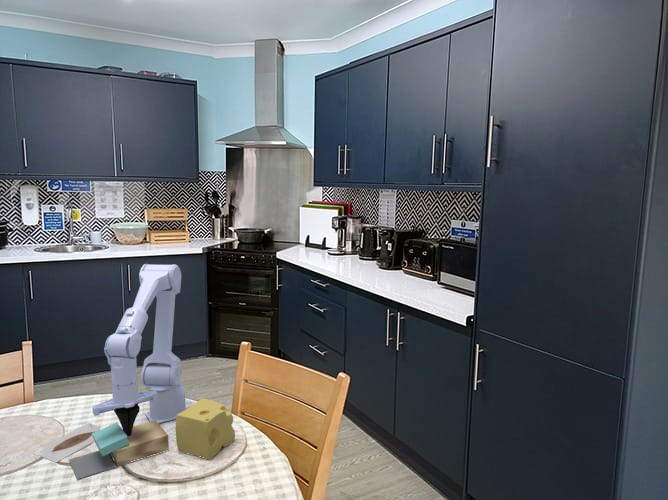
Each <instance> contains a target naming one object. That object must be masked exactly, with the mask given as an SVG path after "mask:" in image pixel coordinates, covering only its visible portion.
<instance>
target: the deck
mask: <svg viewBox="0 0 668 500" xmlns="http://www.w3.org/2000/svg"><path fill="white" fill-rule="evenodd" d="M122 430H123V429H122ZM127 438H128V441H129V444H128V445H125V446H123V447H121V448H119V449H117V450H115V451H113V452H111V453H109V455H110V457H111V459H113V460H112V461H114V464H115V466H116V467H119V468H120V467H122V466H125V465H127V464H126V463H128V464H130V463H129V462H131V461H134V460H137V459H140V460H142V459H141V458H143V459H145V458H144V457H146V458H148V457H147V456H150V455H153V454H156V455H158V454H157V453H159V454H161V453H160V452H162V453H164V452H163V451H165V452H167V451H166V450H168V449H169V450H170V448H169V447H170V446H169V445H170V444H169V434H168V433H167V431H165V429H163V427H162V426H161V425H160V424H158V423H157V422H156V420H154V421H150V420H149V421H148V422H145V423H140V424H137V425H133V429H132V435H131V436H128V437H127ZM169 450H168V451H169ZM153 456H154V455H153ZM150 457H151V456H150ZM137 461H138V460H137ZM134 462H135V461H134ZM131 463H132V462H131ZM124 464H125V465H124Z"/></svg>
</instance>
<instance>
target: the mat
mask: <svg viewBox="0 0 668 500" xmlns="http://www.w3.org/2000/svg"><path fill="white" fill-rule="evenodd" d="M113 461H114V460H112V457H111V455H110V453H109V454H107V455H105V456H102V454H101V452H100V451H99V450H97V451H94V452H93V451H92V452H89V453H86V454H82V455H79V456H76V457H73V458H69V461H68V462H69V463H70V466H71V468H72V470H73V473H74V475H75V478H76V480H77V481H79V480H83V479H86V478H89V477H92V476H95V475H98V474H101V473H104V472H107V471H110V470H114V469H115V468H116V464H115V462H113Z"/></svg>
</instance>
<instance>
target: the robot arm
mask: <svg viewBox="0 0 668 500" xmlns="http://www.w3.org/2000/svg"><path fill="white" fill-rule="evenodd" d="M138 276H139V277H138V279H139V285H140V286H139V289H138V291H137V294H136V297H135V300H134V302H133V305H132V307H129V308H127V309H126V310H125V312H124V314H123V316H122V318H121V320H120V322H119V324H118V326H117V329H116V331H114V332H115V333H112V334H111V335H108V337H107V338H106V340H105V345H104V348H103V349H104V350H103V351H104V355H105V356H106V358H107V363H108V365H109V366H110V372H111V373H110V374H111V391H112V392H111V393H112V398H111V399H108V400H106V401H103V402H101V403H97V404H93V405H92V414H93V416H94V417H98V416H100V415H101V414H104V413H108V412H111V411H114V414H115V415H116V417H117V419H118V421H119V424H120V425H121V426H120V427H121V428H122V429H123V431H124V433H125V434H126V435H127V437H128V436H131V435H132V429H133V426H135V425H134V424H135V421H136V418H137V417H138V415H139V413H140V409H141V408H140V406H139V404H143V403H146V402H149V403H148V404H149V412H146V413H145V416H146V418H147V419H148V420H149V422H150V421H154V420H156V422H157V423H158V424H159V425H160V424H163V423H167V422H169V421H174V420H176V418H177V414H179V413H181V412H183V411H184V410H186V409H187V407H186V393H185V392H186V391H185V388H184V385H183V383H182V382H181V380H182V373H183V372H182V367H181V366H182V364H181V363H182V362H181V358H179V357H178V356H177V355H176V354H174V353H173V352H172V349H173V335H174V334H173V333H174V320H175V304H176V303H175V302H176V295H178V294H180V293H181V288H182V286H181V285H182V272H181V268H180V267H179V265H178V264H174V263H173V264H149V263H144V264H143V265H142V267H141V268H140V269H139V274H138ZM155 297H156V304H155V305H156V307H155V320H154V321H155V323H154V332H153V333H154V336H153V349H152V353H151V354H150V355H148V356H147V357H146V358H145V359H144V361H143V365H142V366H143V367H142V369H141V373H140V380H141V383H142V385H143V386H145V389H146V390H148V391H140V392H139V387H138V386H139V385H138V367H137V365H138V364H137V356H138V355H139V353H140V351H141V347H142V346H141V345H142V344H141V343H142V339H143V337H142V333H143V332H144V331H143V330H144V329H145V326H146V324H147V322H148V321H149V315H148V313H147V311H148V310H149V307H150V306H151V304H152V303H153V301H154V299H155Z"/></svg>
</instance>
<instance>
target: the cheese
mask: <svg viewBox="0 0 668 500" xmlns="http://www.w3.org/2000/svg"><path fill="white" fill-rule="evenodd" d="M175 420H176V421H175V439H176V441H175V442H176V446H177V447H176V448H177V451H178V452H180V451H181V452H180V453H183V452H184V453H183V454H186V453H189V454H188V455H190V454H193V455H192V456H194V455H197V456H196V457H198V456H201V457H204V458H206V459H205V460H208V459H209V460H211V459H212V458H213V457H215V456H216V455H215V454H218V453H219V452H220V450H221V448H226V447H228V446H229V445H230V444H231V445H232V443H233V442H234V441H235V438H236V434H235V433H236V432H235V431H236V430H235V429H234V428H233V424H234V417H233V413H232V412H230V411H229V410H228V409H227V407H226V406H225V405H224V404H223V403H220V402H218V401H217V402H216V401H215V400H211V399H207V398H201V399H199V400H198V401H196V402H195V403H194V404H193V405H191V406H189V407H188V408H186V410H184V411H183V412H181V413H179V414H177V418H176V419H175ZM201 457H200V458H201ZM211 457H212V458H211ZM204 458H203V459H204ZM210 458H211V459H210Z"/></svg>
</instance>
